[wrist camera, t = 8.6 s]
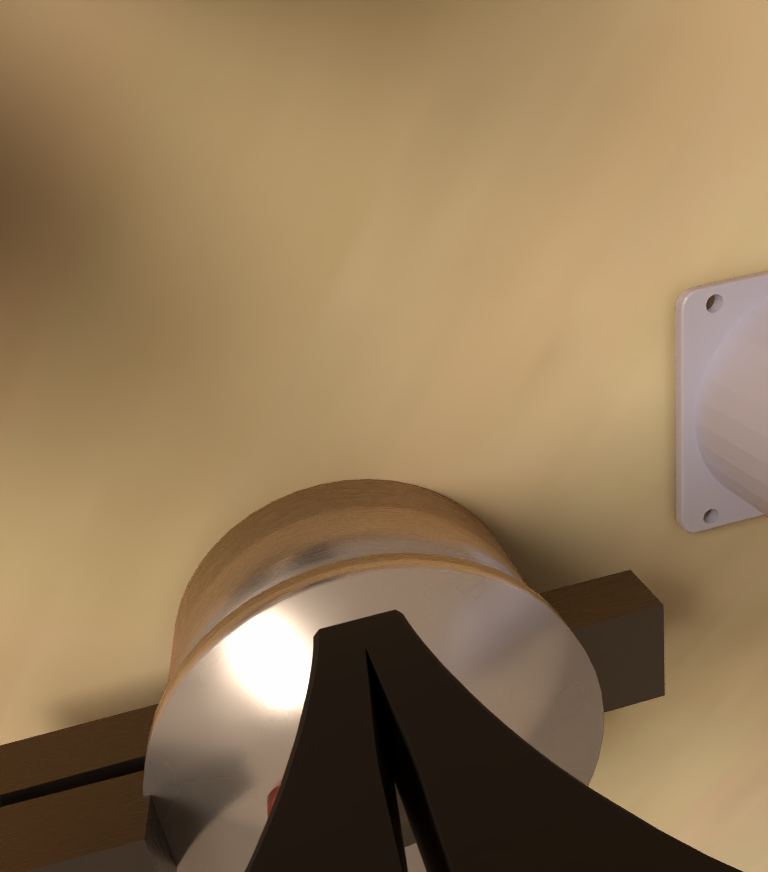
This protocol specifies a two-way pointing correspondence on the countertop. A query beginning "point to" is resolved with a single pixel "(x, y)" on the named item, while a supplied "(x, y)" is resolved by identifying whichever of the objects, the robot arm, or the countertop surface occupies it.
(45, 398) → the countertop surface
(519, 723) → the lid
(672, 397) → the countertop surface
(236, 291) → the countertop surface
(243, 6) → the countertop surface
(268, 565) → the pot
